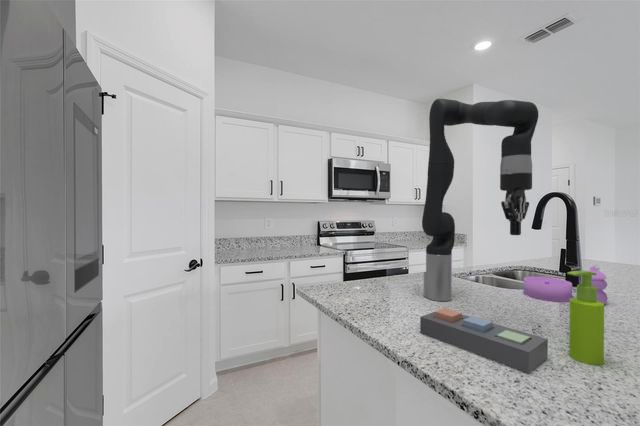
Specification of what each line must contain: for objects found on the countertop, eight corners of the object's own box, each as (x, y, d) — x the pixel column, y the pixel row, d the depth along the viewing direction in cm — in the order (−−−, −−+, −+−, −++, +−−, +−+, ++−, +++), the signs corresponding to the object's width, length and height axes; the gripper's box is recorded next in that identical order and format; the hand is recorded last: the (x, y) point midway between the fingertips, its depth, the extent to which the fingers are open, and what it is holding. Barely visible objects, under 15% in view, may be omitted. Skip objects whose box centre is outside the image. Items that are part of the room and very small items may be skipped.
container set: (521, 297, 118) (521, 264, 118) (525, 289, 130) (525, 259, 130) (609, 311, 102) (609, 272, 102) (605, 300, 114) (605, 265, 114)
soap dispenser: (558, 353, 71) (559, 269, 71) (585, 352, 72) (586, 268, 72) (582, 366, 66) (582, 274, 65) (611, 364, 66) (612, 273, 66)
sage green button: (496, 347, 70) (496, 334, 70) (506, 342, 73) (506, 329, 73) (521, 356, 66) (521, 342, 66) (529, 349, 69) (529, 336, 69)
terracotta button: (434, 322, 83) (434, 311, 83) (444, 318, 86) (444, 308, 86) (451, 328, 79) (451, 316, 79) (461, 323, 82) (461, 312, 82)
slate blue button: (463, 331, 77) (463, 320, 77) (472, 327, 80) (473, 315, 80) (483, 338, 73) (483, 326, 73) (493, 333, 76) (493, 321, 75)
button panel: (420, 332, 83) (420, 316, 83) (442, 324, 90) (442, 309, 90) (528, 373, 62) (528, 352, 62) (547, 358, 69) (547, 338, 69)
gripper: (511, 176, 91) (510, 233, 91) (490, 172, 83) (490, 235, 83) (540, 173, 85) (539, 234, 85) (521, 169, 77) (521, 237, 77)
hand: (515, 235), depth 84 cm, fingers closed
